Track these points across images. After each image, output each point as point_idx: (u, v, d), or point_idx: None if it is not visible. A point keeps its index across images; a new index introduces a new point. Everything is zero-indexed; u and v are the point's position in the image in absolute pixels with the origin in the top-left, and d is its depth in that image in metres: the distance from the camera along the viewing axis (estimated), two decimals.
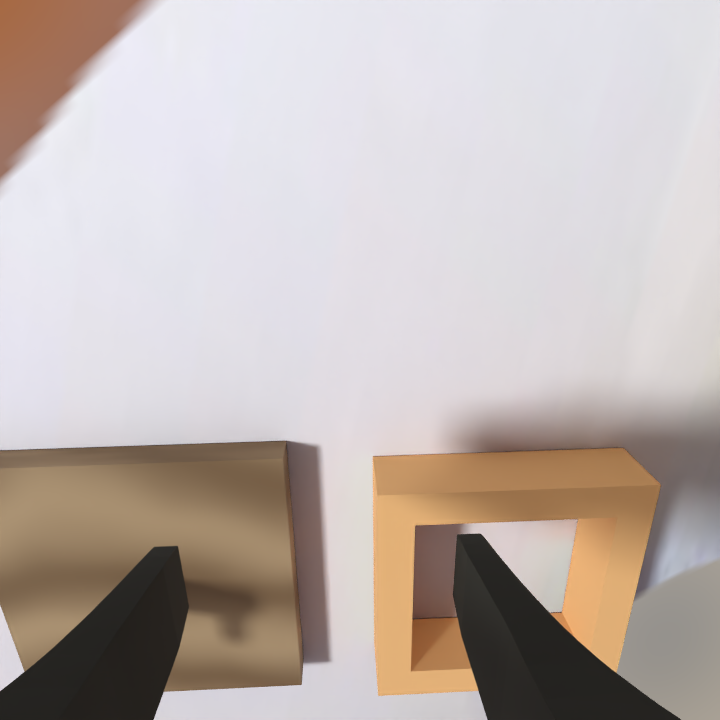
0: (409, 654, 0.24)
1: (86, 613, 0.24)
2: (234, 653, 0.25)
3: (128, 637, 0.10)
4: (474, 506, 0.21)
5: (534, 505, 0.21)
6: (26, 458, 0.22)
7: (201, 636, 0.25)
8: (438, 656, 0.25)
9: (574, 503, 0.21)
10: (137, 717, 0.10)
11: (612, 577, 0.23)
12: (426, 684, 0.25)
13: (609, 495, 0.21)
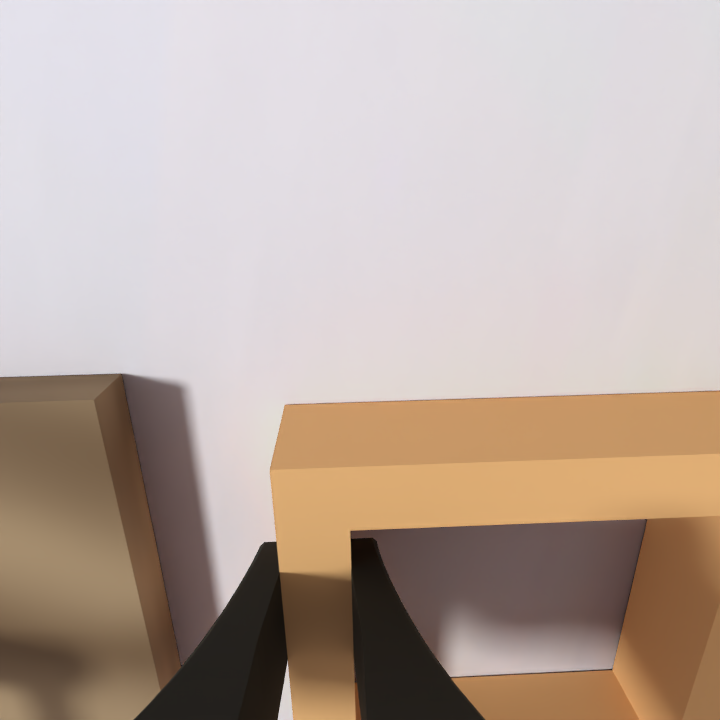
0: None
1: None
2: None
3: (267, 630, 0.10)
4: (466, 493, 0.10)
5: (587, 491, 0.11)
6: None
7: None
8: None
9: (666, 487, 0.11)
10: (271, 710, 0.10)
11: None
12: None
13: None
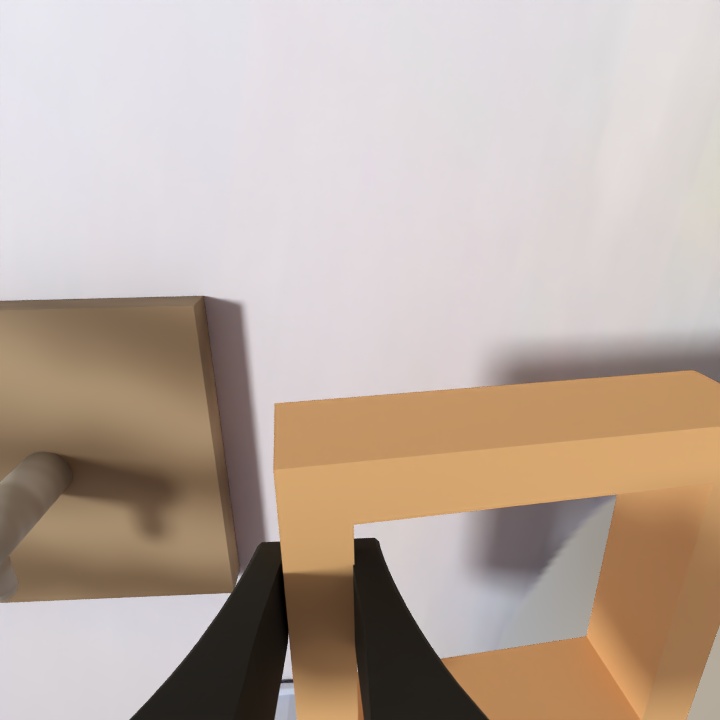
0: None
1: None
2: (155, 552, 0.23)
3: (264, 630, 0.10)
4: (465, 480, 0.11)
5: (575, 470, 0.11)
6: None
7: (115, 531, 0.22)
8: None
9: (644, 462, 0.11)
10: (268, 710, 0.10)
11: (693, 587, 0.13)
12: None
13: (705, 444, 0.12)
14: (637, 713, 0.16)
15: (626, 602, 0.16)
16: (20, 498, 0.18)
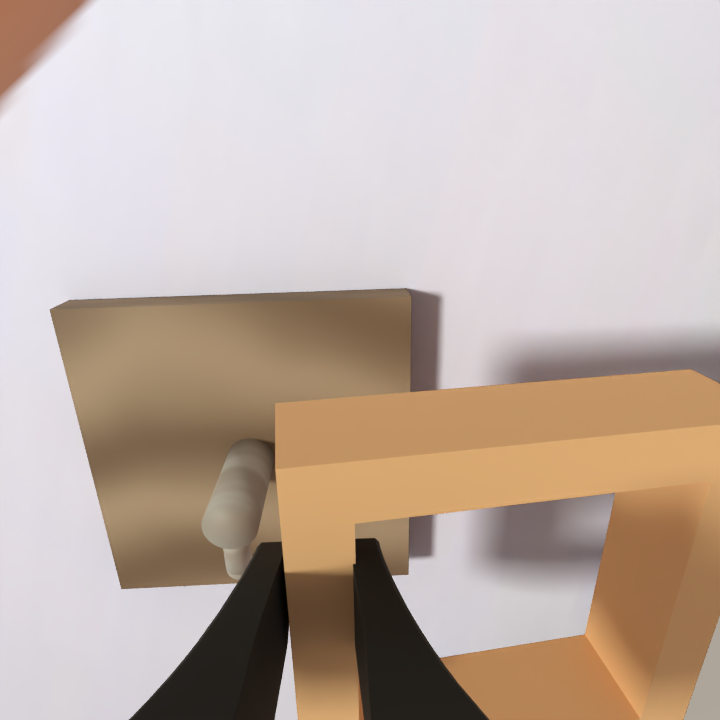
0: None
1: (184, 486, 0.22)
2: None
3: (263, 631, 0.10)
4: (466, 479, 0.11)
5: (575, 469, 0.11)
6: (127, 302, 0.20)
7: None
8: None
9: (643, 461, 0.12)
10: (268, 710, 0.10)
11: (691, 585, 0.13)
12: None
13: (703, 442, 0.12)
14: (636, 711, 0.16)
15: (625, 600, 0.16)
16: (254, 480, 0.19)
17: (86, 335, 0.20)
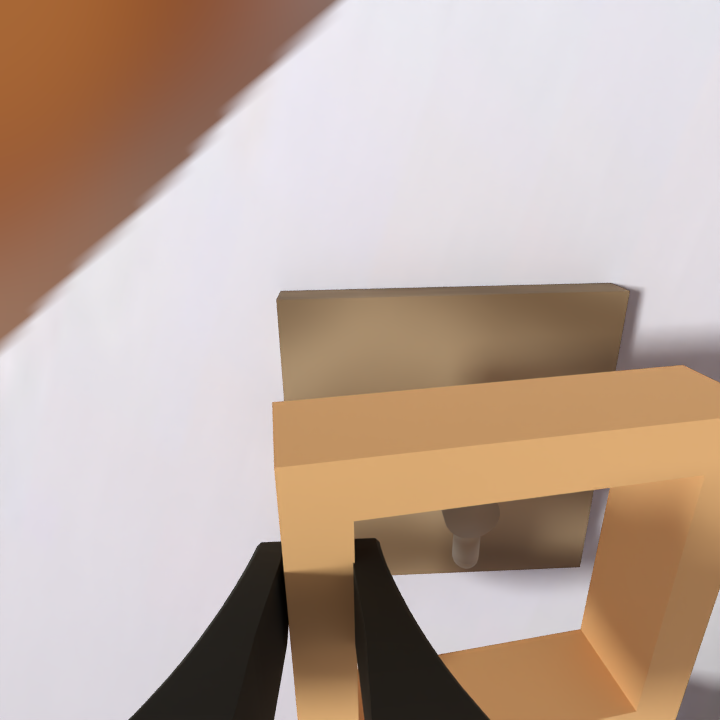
0: None
1: None
2: (520, 528, 0.24)
3: (263, 630, 0.10)
4: (464, 475, 0.11)
5: (571, 464, 0.11)
6: (345, 293, 0.20)
7: None
8: None
9: (638, 455, 0.12)
10: (267, 710, 0.10)
11: (685, 578, 0.14)
12: None
13: (696, 436, 0.12)
14: (632, 703, 0.16)
15: (620, 594, 0.16)
16: None
17: (307, 326, 0.20)
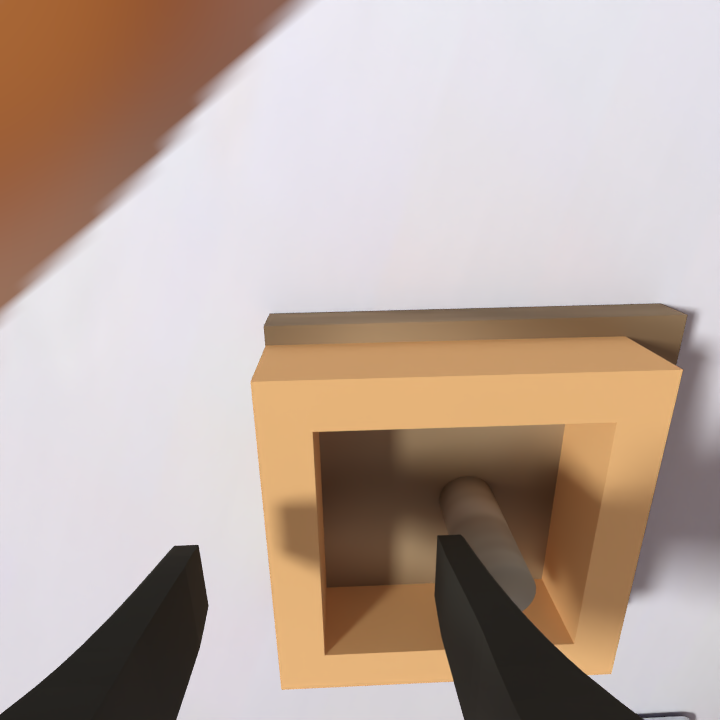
0: (320, 630, 0.17)
1: (383, 530, 0.19)
2: None
3: (154, 636, 0.10)
4: (400, 402, 0.14)
5: (491, 401, 0.14)
6: (346, 317, 0.17)
7: None
8: (366, 635, 0.18)
9: (552, 399, 0.14)
10: (162, 716, 0.10)
11: (609, 518, 0.16)
12: (348, 674, 0.18)
13: (604, 386, 0.14)
14: (572, 637, 0.18)
15: (566, 540, 0.18)
16: (508, 532, 0.16)
17: None
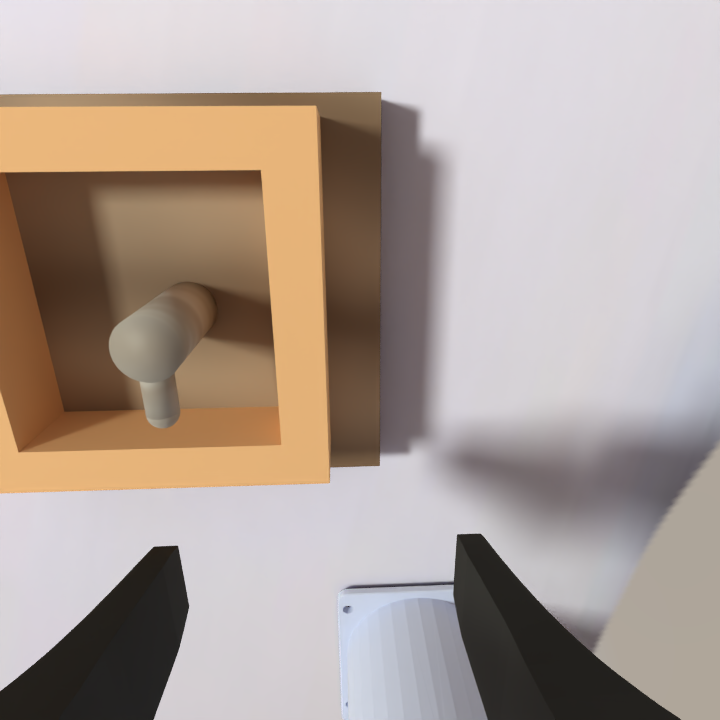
0: (6, 421, 0.16)
1: None
2: None
3: (128, 637, 0.10)
4: (21, 138, 0.13)
5: (119, 139, 0.13)
6: None
7: (257, 386, 0.19)
8: (75, 440, 0.17)
9: (184, 138, 0.13)
10: (137, 717, 0.10)
11: (281, 289, 0.15)
12: (49, 476, 0.17)
13: (237, 124, 0.13)
14: (283, 441, 0.17)
15: None
16: (184, 308, 0.15)
17: None
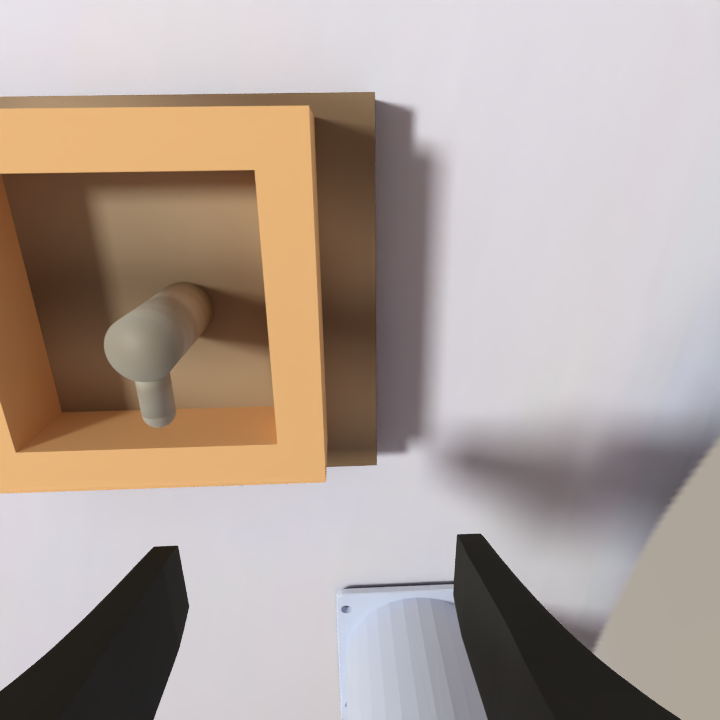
0: (3, 421, 0.16)
1: None
2: None
3: (128, 637, 0.10)
4: (16, 139, 0.13)
5: (114, 140, 0.13)
6: None
7: (254, 385, 0.19)
8: (71, 440, 0.17)
9: (178, 139, 0.14)
10: (137, 717, 0.10)
11: (275, 289, 0.15)
12: (46, 476, 0.17)
13: (230, 124, 0.13)
14: (279, 440, 0.17)
15: None
16: (179, 308, 0.15)
17: None
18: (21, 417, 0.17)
